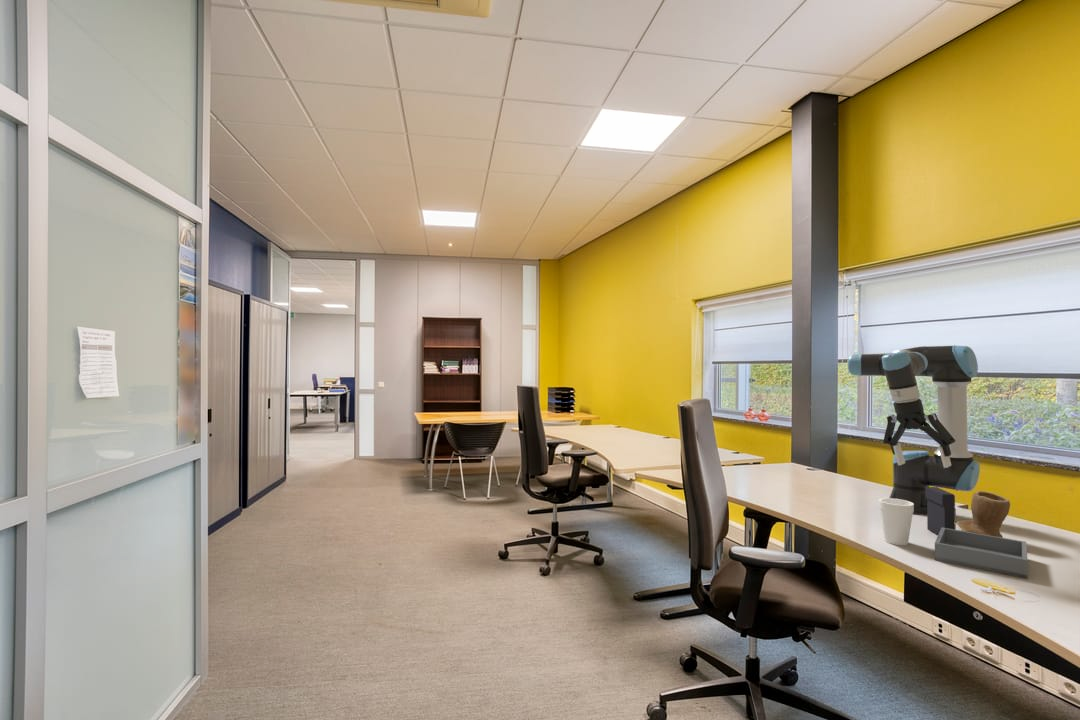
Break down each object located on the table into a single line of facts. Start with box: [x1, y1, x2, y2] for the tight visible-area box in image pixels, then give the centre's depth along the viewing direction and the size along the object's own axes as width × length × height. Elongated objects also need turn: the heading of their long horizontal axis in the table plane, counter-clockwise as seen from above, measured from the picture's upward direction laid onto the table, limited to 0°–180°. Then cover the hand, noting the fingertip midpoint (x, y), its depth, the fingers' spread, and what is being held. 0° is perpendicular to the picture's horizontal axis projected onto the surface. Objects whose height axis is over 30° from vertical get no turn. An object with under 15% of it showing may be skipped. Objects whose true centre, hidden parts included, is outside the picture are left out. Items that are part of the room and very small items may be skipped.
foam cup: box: [878, 497, 914, 546], centre depth 169 cm, size 10×9×13 cm
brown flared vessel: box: [956, 490, 1011, 538], centre depth 174 cm, size 15×12×15 cm
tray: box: [934, 527, 1029, 580], centre depth 154 cm, size 20×20×5 cm
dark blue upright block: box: [925, 486, 957, 536], centre depth 176 cm, size 11×4×15 cm, turn 168°
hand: (923, 465), depth 165 cm, fingers open, 13 cm apart
